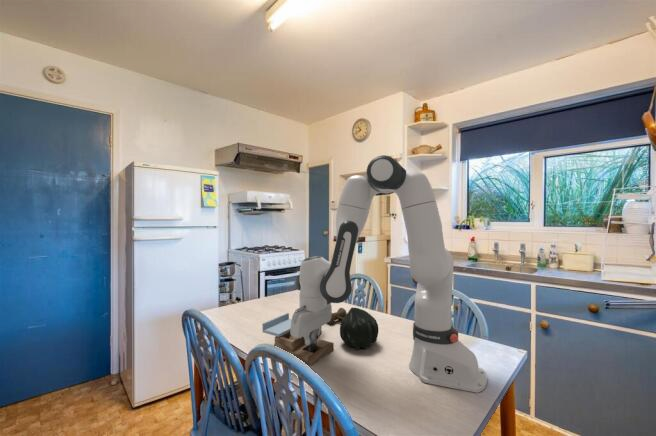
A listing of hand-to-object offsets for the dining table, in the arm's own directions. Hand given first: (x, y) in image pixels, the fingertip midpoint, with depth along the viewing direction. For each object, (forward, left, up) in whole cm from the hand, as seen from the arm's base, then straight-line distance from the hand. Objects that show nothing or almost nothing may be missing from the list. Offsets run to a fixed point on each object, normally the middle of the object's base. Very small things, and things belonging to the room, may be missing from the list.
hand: (312, 341), depth 105 cm
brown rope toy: (+13, -34, -5) cm, 37 cm away
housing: (+4, -1, -5) cm, 6 cm away
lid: (+14, -1, +2) cm, 14 cm away
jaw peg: (0, 0, -4) cm, 4 cm away
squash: (-10, -17, -5) cm, 20 cm away
